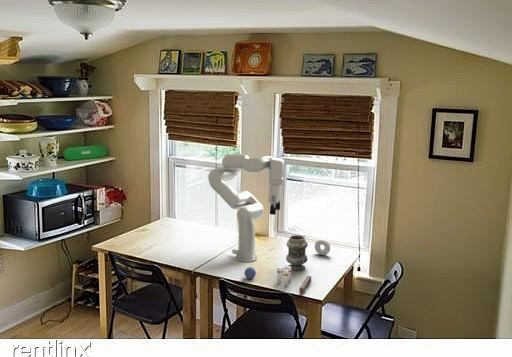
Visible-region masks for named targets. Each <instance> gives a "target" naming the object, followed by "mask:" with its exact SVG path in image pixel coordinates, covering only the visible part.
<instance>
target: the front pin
mask: <svg viewBox="0 0 512 357" xmlns="http://www.w3.org/2000/svg"><path fill="white" fill-rule="evenodd" d="M282 272H283V271H282V266H277V267H276V284H278V285H282V277H283V276H282Z"/></svg>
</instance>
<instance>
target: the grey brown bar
mask: <svg viewBox="0 0 512 357" xmlns="http://www.w3.org/2000/svg"><path fill="white" fill-rule="evenodd" d="M310 282H311V283H312V275H307V276H306V277H305V279H304V280H303V282H302V284H301V285H300V286H299V290H298V291H299V293H302V294H301V295H304V294H305V292H306V291H305V290H307V289H308V287H309V286H310V284H311V283H310ZM309 283H310V284H309ZM308 285H309V286H308ZM306 288H307V289H306ZM303 293H304V294H303Z"/></svg>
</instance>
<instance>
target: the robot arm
mask: <svg viewBox="0 0 512 357" xmlns="http://www.w3.org/2000/svg"><path fill="white" fill-rule="evenodd" d="M221 165H222V166H221V167H216V168H214V169H211V170H210V171H209V173H208V175H207V176H208V178H207V179H208V183H209V185H210V187H211V189H212V190H213V191H215V193H217V195H219V196H220V198H222V200H223V201H224V202H225V203H226V204H227V205H228V206H229V207H230V208H231V209H233V210H237V212H236V219H237V225H238V247H237V248H238V249H234V248H232V250H231V253H232V254H234V255H235V259H236V260H237V261H239V262H242V263H243V262H245V263H250V262H251V263H253V262H255V261H256V260H258V255H257V254H256V253H255V252H256V251H255V250H256V249H255V248H256V228H255V225H254V221H256V220H259V219H261V218H263V217H264V214H265V209H264V207H263V205H262V203H260V201H259V200H257V198H256V197H255V196H254V195H253V194H252V193H250V192H249V191H247V190H240V191H236V190H235V189H234V188H233V186H232V185H230V184H229V183H227V182H228V181H230V180H233V179H234V178H235V177H236V176H237V175H238V173H240V171H244V172H248V173H249V172H250V173H261V172H265V171H268V174H269V175H268V185H269V190H268V203H269V215H274V216H275V215H276V214H277V213H276V212H277V211H280V210H281V199H282V185H284V159H282V158H275V157H273V156H270V155H267V156H266V155H265V156H262V157H256V158H255V157H253V158H251V157H249V156H248V155H246V154H242V153H233V154H232V153H231V154H227V155H224V157H223V158H222V161H221ZM226 181H227V182H226Z"/></svg>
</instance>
